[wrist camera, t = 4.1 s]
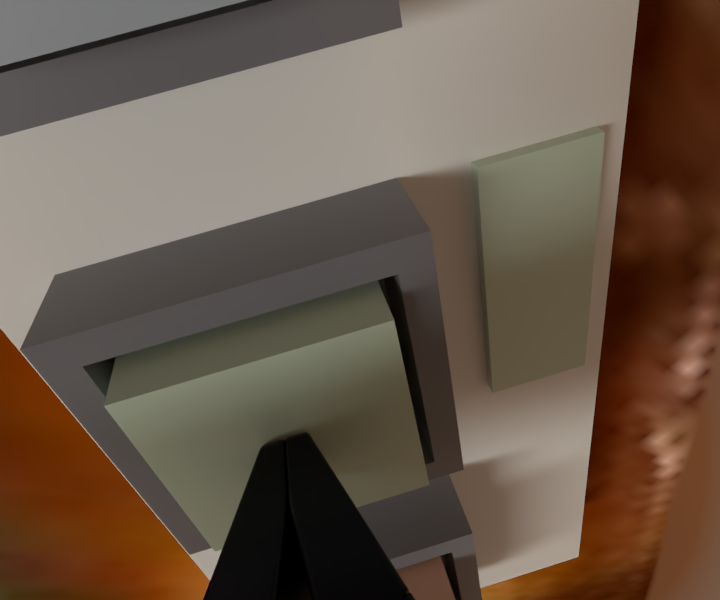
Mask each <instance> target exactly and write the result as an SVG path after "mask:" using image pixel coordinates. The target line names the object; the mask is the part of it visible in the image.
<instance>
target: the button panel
mask: <svg viewBox="0 0 720 600" xmlns="http://www.w3.org/2000/svg"><path fill="white" fill-rule="evenodd" d="M638 7H639V0H247V1H243V2H240V3H236V4H232V5H228V6H225V7H221V8H217V9H213V10H210V11H206V12H202V13H198V14H195V15H191V16H187V17H183V18H180V19H176V20H172V21H168V22H165V23H161V24H157V25H153V26H149V27H146V28H142V29H138V30H134V31H131V32H127V33H123V34H119V35H116V36H112V37H108V38H104V39H101V40H97V41H93V42H89V43H86V44H82V45H78V46H74V47H71V48H67V49H63V50H59V51H56V52H52V53H48V54H44V55H41V56H37V57H33V58H29V59H26V60H22V61H18V62H14V63H11V64H7V65H3V66H0V328H1V329H2V331H3V332H4V333H5V334H6V335H7V337H8V338H9V339H10V340H11V342H12V343H13V344H14V345H15V346H16V348H17V349H18V350H19V351H20V352H21V354H22V355H23V356H24V357H25V358H26V360H27V361H28V362H29V363H30V364H31V366H32V367H33V368H34V369H35V370H36V372H37V373H38V374H39V375H40V376H41V378H42V379H43V380H44V381H45V382H46V384H47V385H48V386H49V387H50V388H51V390H52V391H53V392H54V393H55V394H56V396H57V397H58V398H59V399H60V400H61V402H62V403H63V404H64V405H65V407H66V408H67V409H68V410H69V411H70V413H71V414H72V415H73V416H74V417H75V419H76V420H77V421H78V422H79V423H80V425H81V426H82V427H83V428H84V429H85V431H86V432H87V433H88V434H89V435H90V437H91V438H92V439H93V440H94V441H95V443H96V444H97V445H98V446H99V447H100V449H101V450H102V451H103V452H104V453H105V455H106V456H107V457H108V458H109V459H110V461H111V462H112V463H113V464H114V465H115V467H116V468H117V469H118V470H119V471H120V473H121V474H122V475H123V476H124V478H125V479H126V480H127V481H128V482H129V484H130V485H131V486H132V487H133V488H134V490H135V491H136V492H137V493H138V494H139V496H140V497H141V498H142V499H143V500H144V502H145V503H146V504H147V505H148V506H149V508H150V509H151V510H152V511H153V512H154V514H155V515H156V516H157V517H158V518H159V520H160V521H161V522H162V523H163V524H164V526H165V527H166V528H167V529H168V530H169V532H170V533H171V534H172V535H173V536H174V538H175V539H176V540H177V541H178V543H179V544H180V545H181V546H182V547H183V549H184V550H185V551H186V552H187V553H188V555H189V556H190V557H191V558H192V559H193V561H194V562H195V563H196V564H197V565H198V567H199V568H200V569H201V570H202V571H203V573H204V574H205V575H206V576H207V577H208V579H209V580H211V578H212V575H213V572H214V570H215V567H216V564H217V562H218V559H219V556H220V554H221V551H222V550H219V551H214V550H213V549H212V547H211V546H210V545H209V543H208V542H207V541H206V539H205V538H204V537H203V536H202V534H201V533H200V532H199V530H198V529H197V528H196V526H195V525H194V524H193V522H192V521H191V520H190V518H189V517H188V516H187V515H186V513H185V512H184V511H183V509H182V508H181V507H180V505H179V504H178V503H177V501H176V500H175V499H174V498H173V496H172V495H171V494H170V492H169V491H168V490H167V488H166V487H165V486H164V484H163V483H162V482H161V480H160V479H159V478H158V477H157V475H156V474H155V473H154V471H153V470H152V469H151V467H150V466H149V465H148V463H147V462H146V461H145V459H144V458H143V457H142V456H141V454H140V453H139V452H138V450H137V449H136V448H135V446H134V445H133V444H132V442H131V441H130V440H129V438H128V437H127V436H126V435H125V433H124V432H123V431H122V429H121V428H120V427H119V425H118V424H117V423H116V421H115V420H114V419H113V417H112V416H111V415H110V414H109V412H108V411H107V410H106V408H105V407H104V403H105V399H106V395H107V391H108V387H109V383H110V379H111V374H112V370H113V366H114V362H115V358H116V357H117V356H120V355H124V354H127V353H130V352H134V351H137V350H141V349H144V348H148V347H151V346H154V345H158V344H161V343H165V342H168V341H172V340H175V339H178V338H182V337H185V336H189V335H192V334H195V333H199V332H202V331H206V330H209V329H213V328H216V327H219V326H223V325H226V324H230V323H233V322H236V321H240V320H243V319H247V318H250V317H254V316H257V315H260V314H264V313H267V312H271V311H274V310H277V309H281V308H284V307H288V306H291V305H295V304H298V303H301V302H305V301H308V300H312V299H315V298H319V297H322V296H325V295H329V294H332V293H336V292H339V291H342V290H346V289H349V288H353V287H356V286H360V285H363V284H366V283H370V282H373V281H377V280H378V283H379V285H380V287H381V290H382V292H383V294H384V297H385V299H386V302H387V304H388V306H389V309H390V311H391V313H392V316H393V318H394V321H395V326H396V330H397V335H398V340H399V344H400V349H401V354H402V358H403V363H404V368H405V373H406V377H407V382H408V387H409V391H410V396H411V401H412V405H413V410H414V415H415V419H416V424H417V429H418V433H419V438H420V443H421V447H422V452H423V457H424V461H425V466H426V471H427V475H428V480H429V485H428V486H425V487H421V488H418V489H415V490H412V491H408V492H405V493H402V494H399V495H396V496H392V497H389V498H386V499H383V500H379V501H376V502H373V503H370V504H367V505H363V506H360V507H357V509H358V511H359V512H360V514H361V515H362V517H363V518H364V520H365V522H366V523H367V525H368V526H369V528H370V529H371V531H372V533H373V534H374V536H375V537H376V539H377V540H378V542H379V544H380V545H381V547H382V548H383V550H384V551H385V553H386V555H387V556H388V558H389V559H390V561H391V562H392V564H393V565H394V567H395V569H396V570H397V569H400V568H403V567H406V566H410V565H413V564H416V563H419V562H422V561H425V560H429V559H432V558H435V557H438V556H441V559H442V562H443V565H444V567H445V570H446V573H447V576H448V579H449V582H450V585H451V588H452V591H453V594H454V597H455V600H482V597H481V589H480V588H483V587H486V586H489V585H492V584H495V583H498V582H501V581H504V580H508V579H511V578H514V577H517V576H520V575H523V574H526V573H529V572H533V571H536V570H539V569H542V568H545V567H548V566H551V565H554V564H557V563H561V562H564V561H567V560H570V559H573V558H576V557H578V556H579V547H580V538H581V529H582V519H583V510H584V501H585V492H586V483H587V474H588V465H589V455H590V446H591V437H592V428H593V419H594V410H595V401H596V391H597V382H598V373H599V364H600V355H601V346H602V337H603V327H604V318H605V309H606V300H607V291H608V282H609V272H610V263H611V254H612V245H613V236H614V227H615V218H616V208H617V199H618V190H619V181H620V172H621V163H622V154H623V144H624V135H625V126H626V117H627V108H628V99H629V90H630V80H631V71H632V62H633V53H634V44H635V35H636V26H637V16H638Z"/></svg>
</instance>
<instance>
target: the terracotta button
mask: <svg viewBox="0 0 720 600" xmlns="http://www.w3.org/2000/svg"><path fill="white" fill-rule="evenodd" d="M397 572H398V573H399V575H400V576H401V578H402V580H403V581H404V583H405V584H406V586H407V587H408V590H409V593H412V595H413V596H414V598H415V599H416V600H455V597H454V594H453V591H452V588H451V585H450V582H449V579H448V576H447V573H446V570H445V567H444V565H443V562H442V559H441V556H438V557H435V558H432V559H429V560H425V561H422V562H419V563H416V564H413V565H410V566H406V567H403V568H400V569H397Z"/></svg>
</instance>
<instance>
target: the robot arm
mask: <svg viewBox="0 0 720 600" xmlns="http://www.w3.org/2000/svg"><path fill="white" fill-rule="evenodd" d="M203 600H416V599H415V598H414V596H413V595H412V593H409V590H408V587H407V586H406V584H405V583H404V581H403V580H402V578H401V576H400V575H399V573H398V572H397V570H396V569H395V567H394V565H393V564H392V562H391V561H390V559H389V558H388V556H387V555H386V553H385V551H384V550H383V548H382V547H381V545H380V544H379V542H378V540H377V539H376V537H375V536H374V534H373V533H372V531H371V529H370V528H369V526H368V525H367V523H366V522H365V520H364V518H363V517H362V515H361V514H360V512H359V511H358V509H357V508H356V506H355V504H354V503H353V501H352V500H351V498H350V497H349V495H348V493H347V492H346V490H345V489H344V487H343V486H342V484H341V482H340V481H339V479H338V478H337V476H336V475H335V473H334V471H333V470H332V468H331V467H330V465H329V464H328V462H327V461H326V459H325V457H324V456H323V454H322V453H321V451H320V450H319V448H318V446H317V445H316V443H315V442H314V440H313V439H312V437H311V436H310V434H309V433H307V432H304V433H300V434H297V435H294V436H290V437H288V438H287V439H286V441H285V440H277V441H274V442H271V443H267V444H264V445H263V446H262V447H261V448H260V450H259V452H258V455H257V458H256V460H255V463H254V466H253V468H252V471H251V474H250V476H249V479H248V482H247V484H246V487H245V490H244V492H243V495H242V498H241V500H240V503H239V506H238V508H237V511H236V514H235V516H234V519H233V522H232V524H231V527H230V530H229V532H228V535H227V538H226V540H225V543H224V546H223V548H222V551H221V554H220V556H219V559H218V562H217V564H216V567H215V570H214V572H213V575H212V578H211V580H210V583H209V586H208V588H207V591H206V594H205V596H204V599H203Z"/></svg>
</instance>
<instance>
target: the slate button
mask: <svg viewBox="0 0 720 600" xmlns="http://www.w3.org/2000/svg"><path fill="white" fill-rule="evenodd" d="M243 1H247V0H0V66H3V65H7V64H11V63H14V62H18V61H22V60H26V59H29V58H33V57H37V56H41V55H44V54H48V53H52V52H56V51H59V50H63V49H67V48H71V47H74V46H78V45H82V44H86V43H89V42H93V41H97V40H101V39H104V38H108V37H112V36H116V35H119V34H123V33H127V32H131V31H134V30H138V29H142V28H146V27H149V26H153V25H157V24H161V23H165V22H168V21H172V20H176V19H180V18H183V17H187V16H191V15H195V14H198V13H202V12H206V11H210V10H213V9H217V8H221V7H225V6H228V5H232V4H236V3H240V2H243Z"/></svg>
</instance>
